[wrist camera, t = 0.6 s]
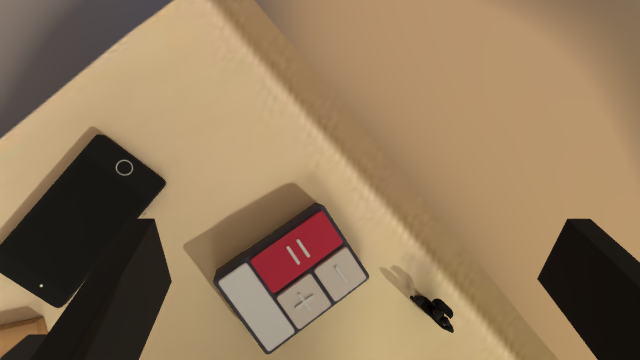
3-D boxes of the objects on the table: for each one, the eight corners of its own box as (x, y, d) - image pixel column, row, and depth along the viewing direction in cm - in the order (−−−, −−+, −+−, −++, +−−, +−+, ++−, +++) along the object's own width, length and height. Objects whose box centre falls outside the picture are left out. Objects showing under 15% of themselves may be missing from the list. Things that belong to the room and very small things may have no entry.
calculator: (373, 279, 41) (267, 360, 39) (361, 269, 46) (265, 341, 43) (323, 203, 40) (210, 282, 37) (316, 200, 44) (214, 271, 42)
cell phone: (168, 182, 40) (166, 182, 39) (63, 307, 39) (58, 310, 38) (102, 132, 39) (98, 131, 38) (-10, 260, 37) (-16, 263, 37)
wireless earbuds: (402, 291, 46) (419, 307, 41) (414, 277, 46) (433, 291, 41) (437, 323, 47) (458, 342, 42) (449, 309, 47) (471, 327, 43)
